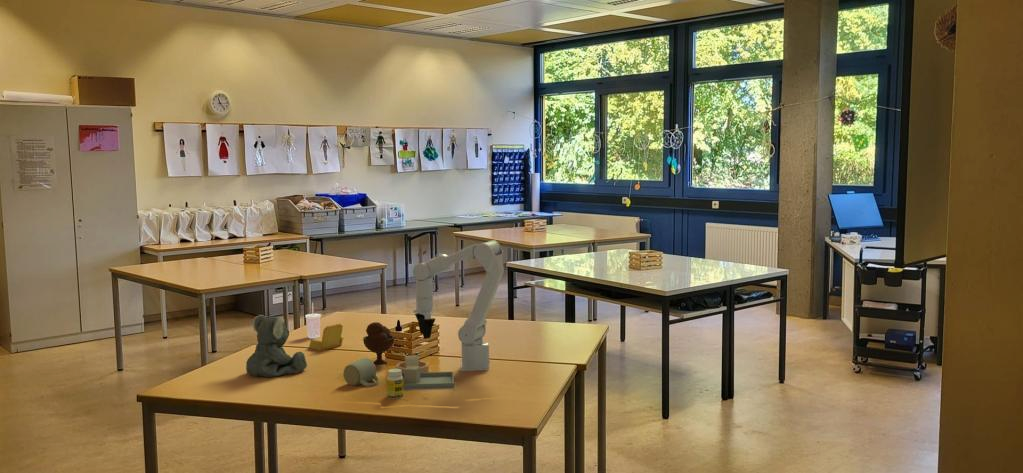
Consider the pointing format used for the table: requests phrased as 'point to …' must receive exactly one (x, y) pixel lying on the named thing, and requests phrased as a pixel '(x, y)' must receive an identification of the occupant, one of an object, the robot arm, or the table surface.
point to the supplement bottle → (394, 384)
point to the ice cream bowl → (378, 341)
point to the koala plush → (273, 350)
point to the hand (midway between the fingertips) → (425, 335)
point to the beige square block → (412, 375)
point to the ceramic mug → (361, 373)
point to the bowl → (423, 365)
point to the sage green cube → (411, 361)
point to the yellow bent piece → (328, 338)
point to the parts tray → (432, 381)
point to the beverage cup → (313, 324)
